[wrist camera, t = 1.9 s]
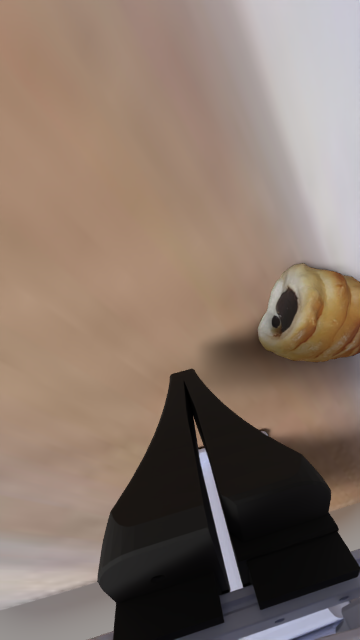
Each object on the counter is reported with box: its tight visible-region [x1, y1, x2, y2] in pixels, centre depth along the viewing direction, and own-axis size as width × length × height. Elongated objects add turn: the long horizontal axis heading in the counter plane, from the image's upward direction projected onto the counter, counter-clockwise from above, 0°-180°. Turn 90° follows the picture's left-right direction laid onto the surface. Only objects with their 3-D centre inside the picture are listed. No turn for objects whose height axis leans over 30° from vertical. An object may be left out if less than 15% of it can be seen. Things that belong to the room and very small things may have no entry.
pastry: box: [258, 263, 360, 362], centre depth 14 cm, size 9×7×4 cm
